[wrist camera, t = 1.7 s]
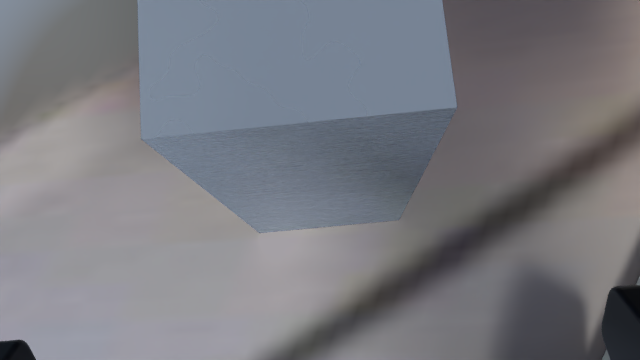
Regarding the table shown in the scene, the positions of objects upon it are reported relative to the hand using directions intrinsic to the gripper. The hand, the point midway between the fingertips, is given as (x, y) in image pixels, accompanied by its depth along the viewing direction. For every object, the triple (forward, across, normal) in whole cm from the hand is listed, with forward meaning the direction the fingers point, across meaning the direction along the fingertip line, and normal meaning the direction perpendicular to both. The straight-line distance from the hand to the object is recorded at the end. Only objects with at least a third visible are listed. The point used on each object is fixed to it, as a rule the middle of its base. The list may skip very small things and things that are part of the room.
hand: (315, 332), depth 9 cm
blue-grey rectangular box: (+12, 0, +4) cm, 13 cm away
